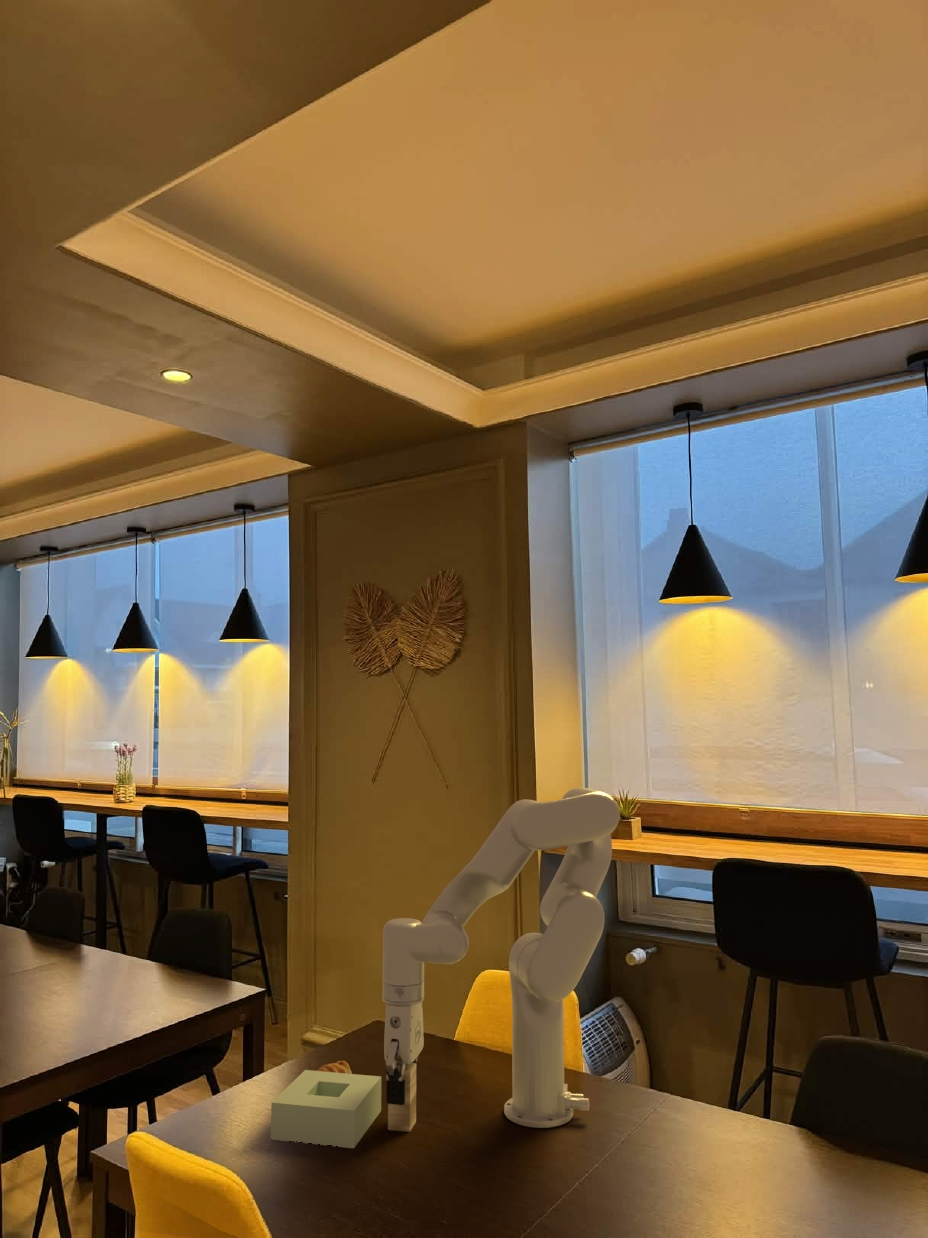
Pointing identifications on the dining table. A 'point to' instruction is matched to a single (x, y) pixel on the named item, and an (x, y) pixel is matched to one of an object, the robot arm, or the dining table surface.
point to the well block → (326, 1108)
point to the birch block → (406, 1113)
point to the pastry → (336, 1067)
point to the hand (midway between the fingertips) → (402, 1093)
